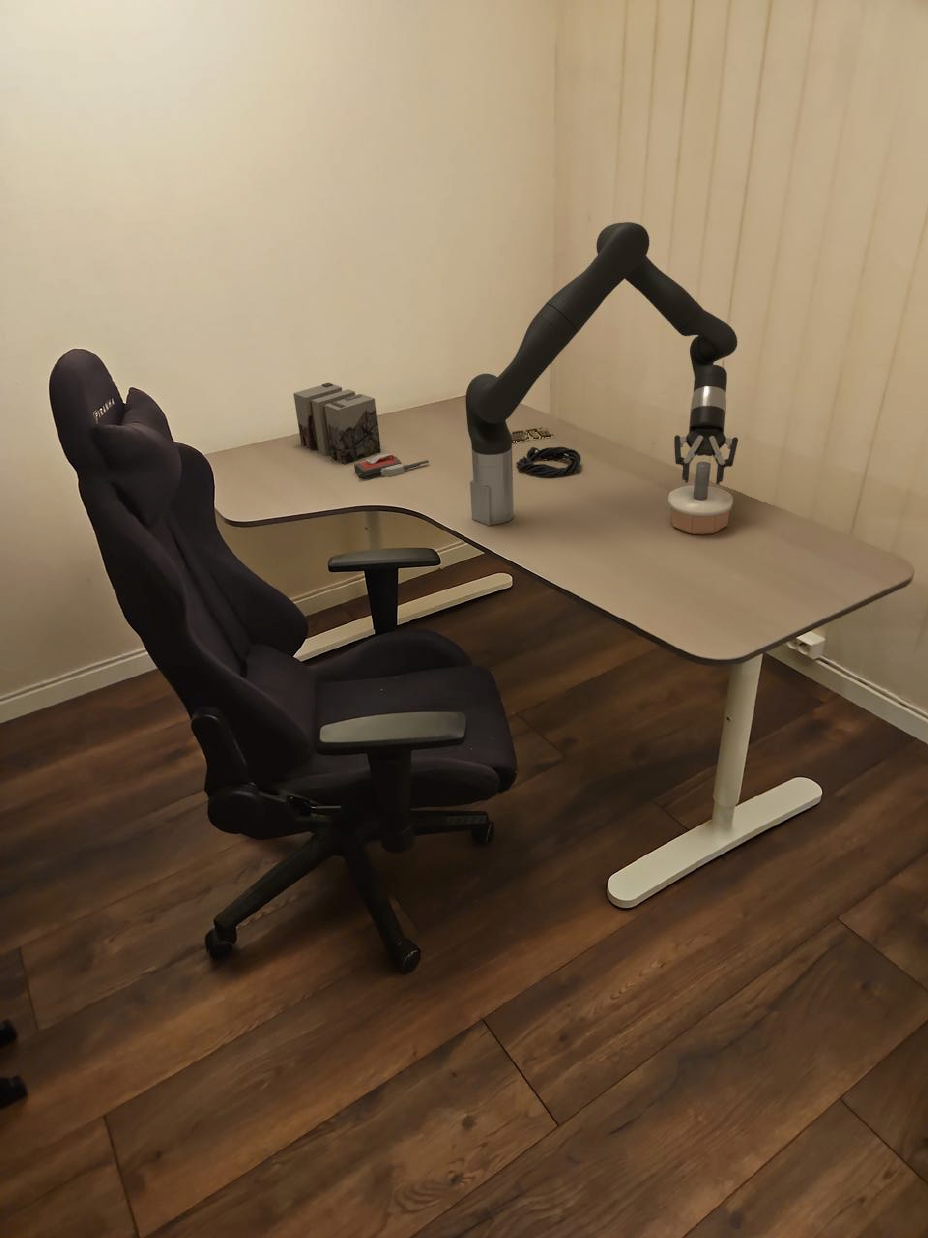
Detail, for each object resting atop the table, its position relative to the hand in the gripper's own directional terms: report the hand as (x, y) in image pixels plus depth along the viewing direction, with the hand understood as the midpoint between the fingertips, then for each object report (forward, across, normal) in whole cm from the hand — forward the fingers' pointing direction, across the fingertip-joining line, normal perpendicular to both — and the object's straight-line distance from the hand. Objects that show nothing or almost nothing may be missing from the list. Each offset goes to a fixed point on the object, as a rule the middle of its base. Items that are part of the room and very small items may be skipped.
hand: (702, 482), depth 194 cm
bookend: (-18, -100, +34) cm, 108 cm away
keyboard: (-28, -52, +44) cm, 74 cm away
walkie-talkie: (-9, -81, +25) cm, 85 cm away
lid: (+3, 0, +5) cm, 6 cm away
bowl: (+6, 0, +9) cm, 11 cm away
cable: (-13, -39, +29) cm, 50 cm away
